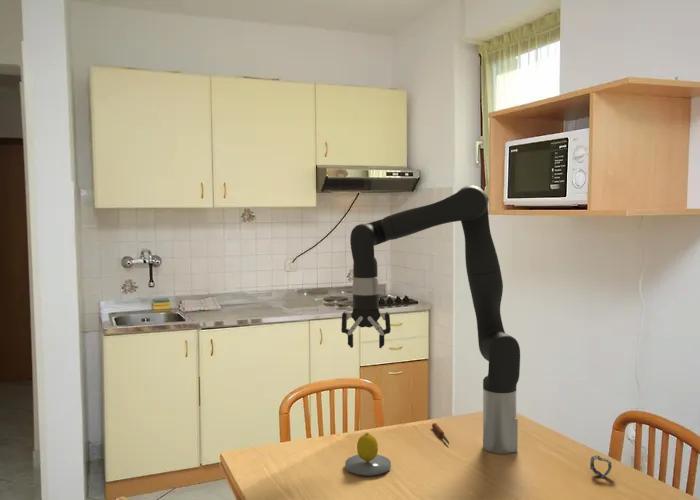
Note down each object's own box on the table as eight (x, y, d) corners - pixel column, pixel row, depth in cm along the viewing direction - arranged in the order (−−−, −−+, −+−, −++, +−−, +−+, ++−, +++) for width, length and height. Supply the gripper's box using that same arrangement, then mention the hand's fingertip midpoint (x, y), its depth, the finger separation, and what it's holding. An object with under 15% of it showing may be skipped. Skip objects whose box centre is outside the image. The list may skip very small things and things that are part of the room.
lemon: (376, 467, 162) (375, 437, 161) (355, 466, 163) (354, 436, 162) (379, 458, 167) (379, 429, 166) (359, 457, 168) (358, 428, 167)
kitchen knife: (431, 428, 194) (431, 422, 194) (435, 428, 194) (436, 422, 194) (446, 447, 179) (446, 440, 179) (451, 447, 179) (451, 440, 179)
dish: (392, 459, 170) (391, 454, 170) (389, 478, 158) (389, 472, 158) (348, 458, 171) (348, 452, 171) (342, 476, 160) (342, 471, 159)
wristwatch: (591, 472, 160) (591, 453, 160) (612, 477, 157) (612, 458, 157) (587, 476, 158) (588, 457, 157) (609, 481, 155) (609, 462, 154)
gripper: (339, 294, 178) (340, 350, 179) (389, 294, 176) (389, 350, 177) (343, 290, 186) (343, 344, 187) (390, 290, 184) (391, 345, 185)
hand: (366, 347), depth 182 cm, fingers open, 8 cm apart
